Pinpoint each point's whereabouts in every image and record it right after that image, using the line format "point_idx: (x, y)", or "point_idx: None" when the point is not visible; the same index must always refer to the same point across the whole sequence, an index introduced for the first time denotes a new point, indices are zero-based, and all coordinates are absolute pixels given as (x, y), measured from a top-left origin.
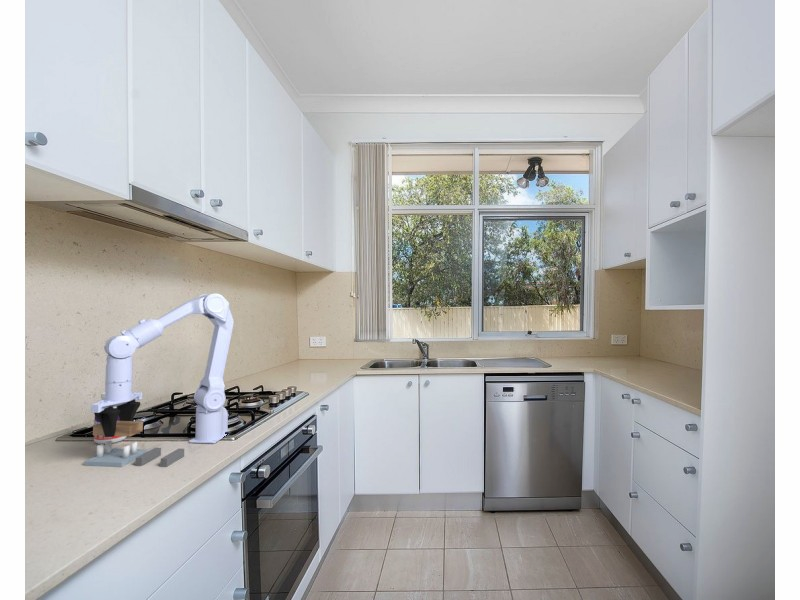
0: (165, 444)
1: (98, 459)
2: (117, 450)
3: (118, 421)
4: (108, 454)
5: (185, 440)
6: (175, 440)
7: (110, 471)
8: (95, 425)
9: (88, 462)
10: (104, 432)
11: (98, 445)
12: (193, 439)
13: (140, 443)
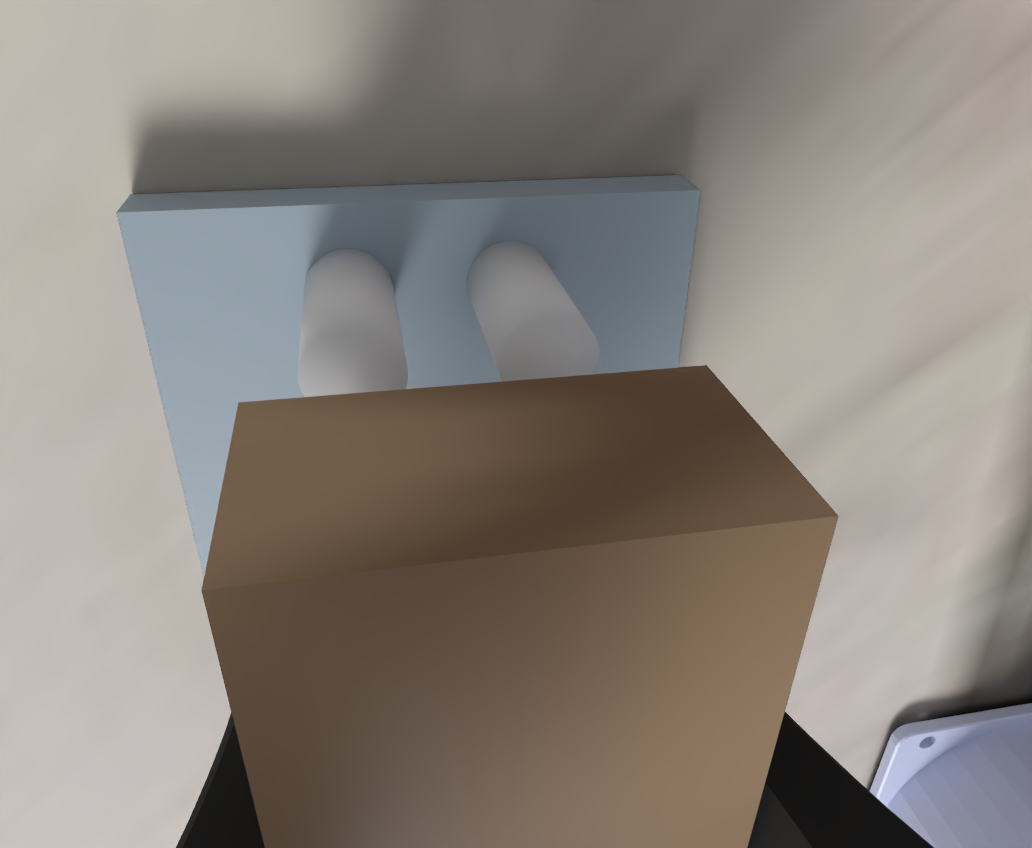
0: (894, 569)
1: (247, 364)
2: (611, 330)
3: (700, 822)
4: (452, 334)
5: (980, 651)
6: (1005, 573)
7: (99, 650)
8: (231, 648)
9: (136, 290)
10: (213, 785)
11: (326, 362)
12: (941, 744)
13: (994, 278)
